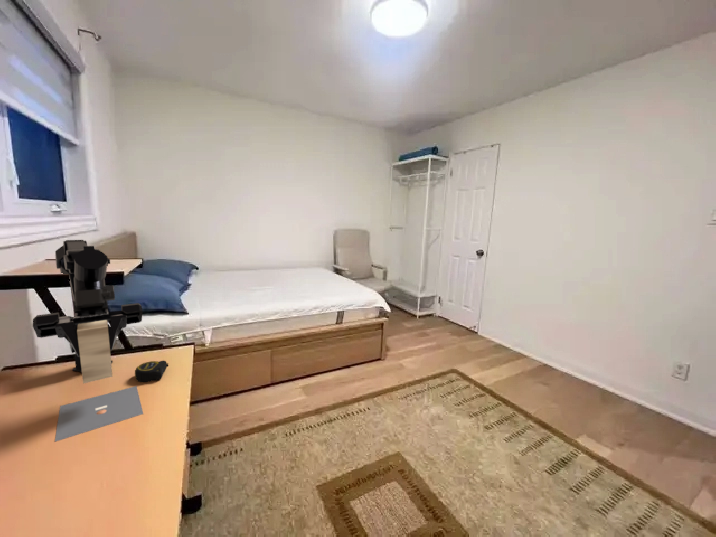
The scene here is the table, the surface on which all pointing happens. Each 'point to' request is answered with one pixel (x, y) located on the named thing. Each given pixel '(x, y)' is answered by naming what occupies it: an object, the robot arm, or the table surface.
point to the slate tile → (97, 412)
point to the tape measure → (150, 371)
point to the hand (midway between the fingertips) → (95, 352)
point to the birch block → (94, 350)
